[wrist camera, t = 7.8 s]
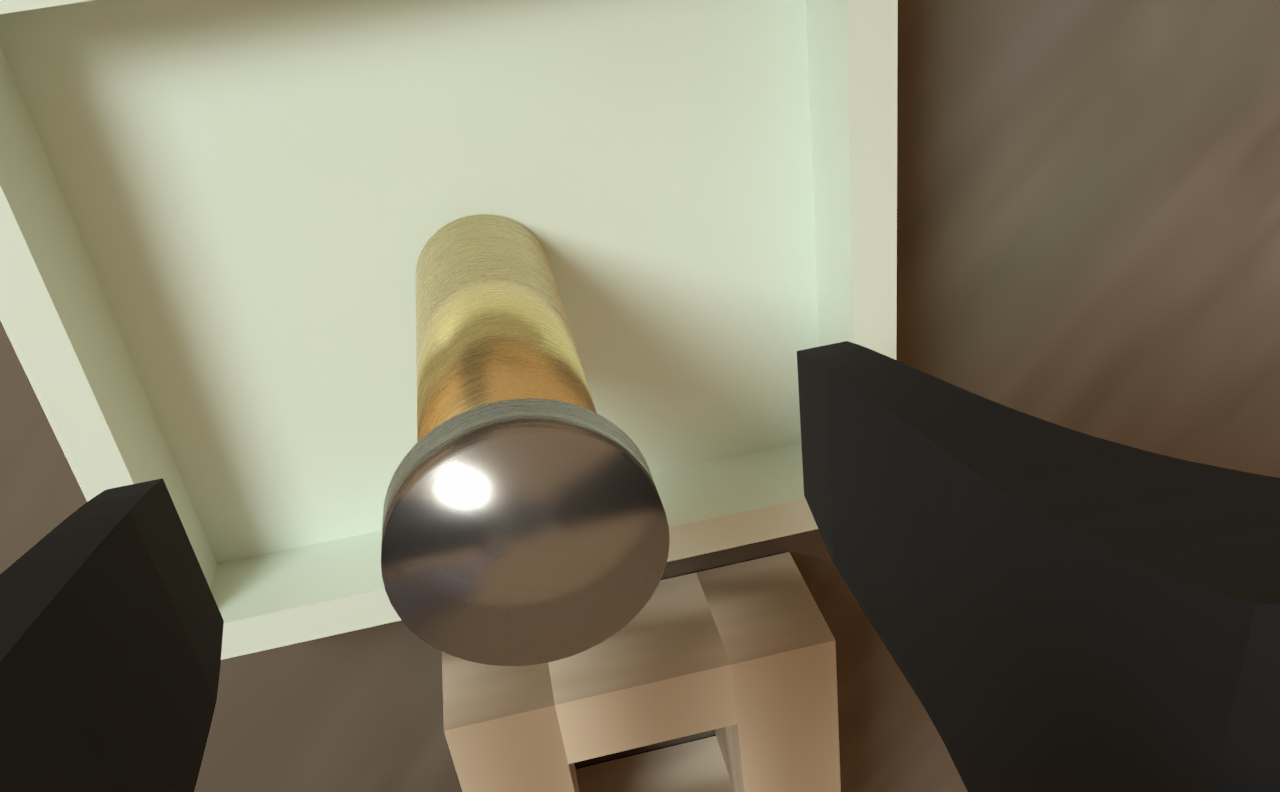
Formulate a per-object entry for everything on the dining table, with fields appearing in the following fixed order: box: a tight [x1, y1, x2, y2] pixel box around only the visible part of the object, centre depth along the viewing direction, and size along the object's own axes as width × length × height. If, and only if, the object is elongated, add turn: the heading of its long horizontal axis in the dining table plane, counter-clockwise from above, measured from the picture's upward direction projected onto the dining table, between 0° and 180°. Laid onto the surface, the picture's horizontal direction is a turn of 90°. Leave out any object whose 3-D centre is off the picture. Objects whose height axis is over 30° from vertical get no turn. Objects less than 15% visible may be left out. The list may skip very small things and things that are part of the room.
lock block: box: [442, 552, 841, 792], centre depth 23 cm, size 8×7×3 cm
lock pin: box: [381, 214, 670, 666], centre depth 15 cm, size 3×3×8 cm
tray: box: [0, 0, 898, 660], centre depth 17 cm, size 14×12×2 cm
